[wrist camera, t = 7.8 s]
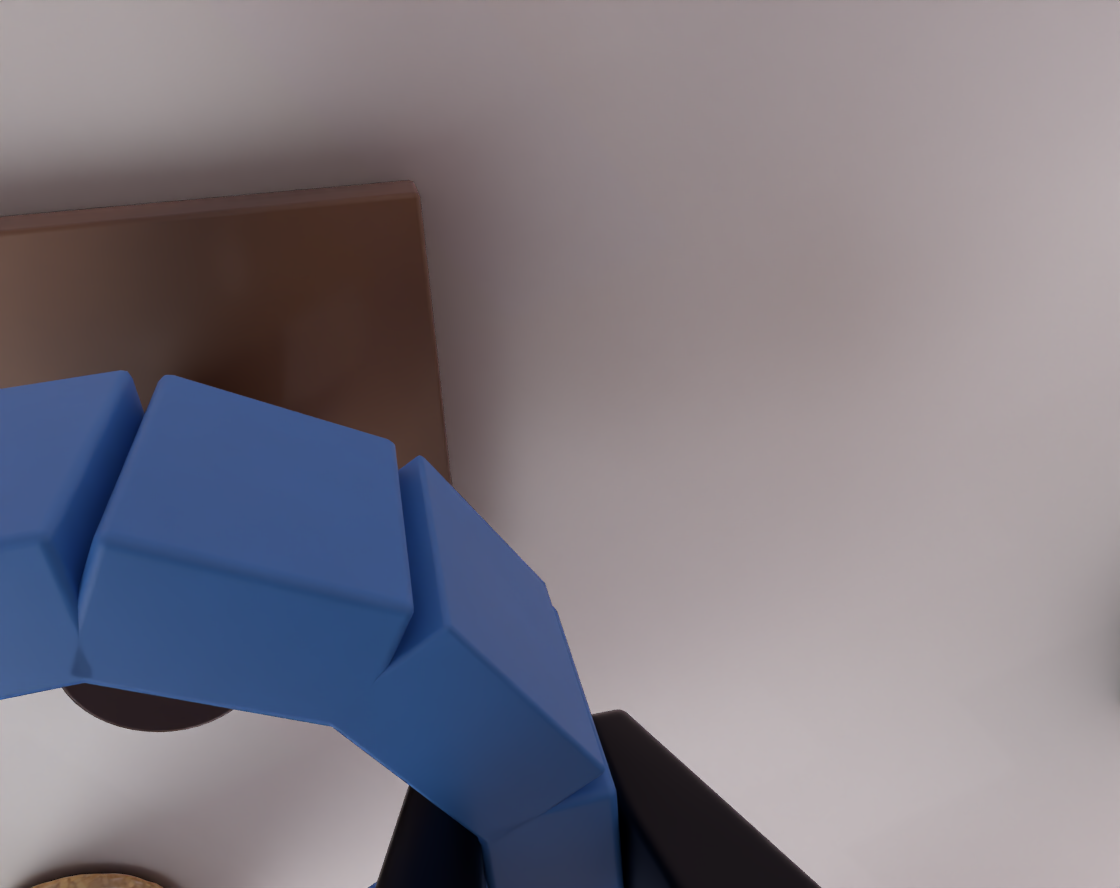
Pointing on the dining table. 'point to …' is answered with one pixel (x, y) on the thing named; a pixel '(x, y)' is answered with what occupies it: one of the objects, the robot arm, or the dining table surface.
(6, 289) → the stand
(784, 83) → the dining table surface
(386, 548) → the tape roll
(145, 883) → the sprinkles bottle
